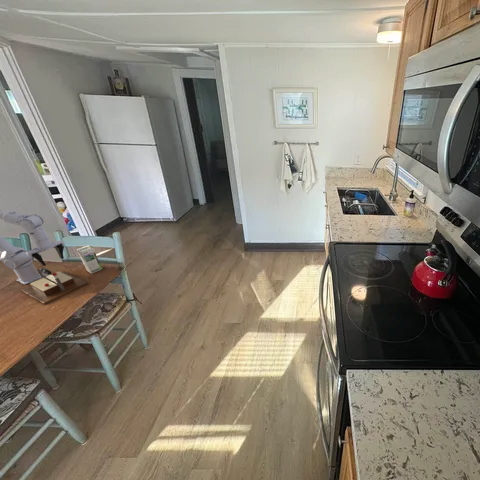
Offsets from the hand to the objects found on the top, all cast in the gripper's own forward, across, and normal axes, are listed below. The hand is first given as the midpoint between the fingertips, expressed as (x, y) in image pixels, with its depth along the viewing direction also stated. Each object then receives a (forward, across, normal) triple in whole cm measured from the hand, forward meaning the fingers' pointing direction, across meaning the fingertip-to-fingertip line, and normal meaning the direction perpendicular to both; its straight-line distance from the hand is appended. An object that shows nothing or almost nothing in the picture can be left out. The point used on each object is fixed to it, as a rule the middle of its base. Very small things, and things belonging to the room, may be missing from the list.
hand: (53, 261), depth 140 cm
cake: (+9, -6, -7) cm, 13 cm away
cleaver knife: (+6, -6, -7) cm, 11 cm away
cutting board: (+10, -6, -7) cm, 14 cm away
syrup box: (+11, +12, -8) cm, 18 cm away
